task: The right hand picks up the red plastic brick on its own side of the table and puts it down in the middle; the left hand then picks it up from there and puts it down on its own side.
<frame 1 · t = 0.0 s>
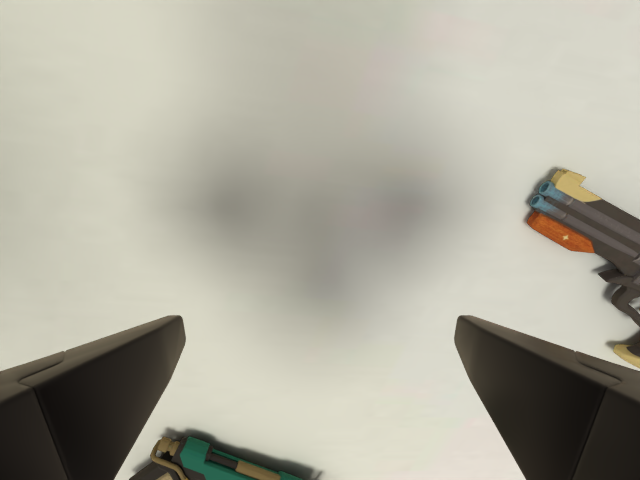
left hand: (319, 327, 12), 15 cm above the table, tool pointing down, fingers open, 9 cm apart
toy gun: (607, 276, 27), on the table
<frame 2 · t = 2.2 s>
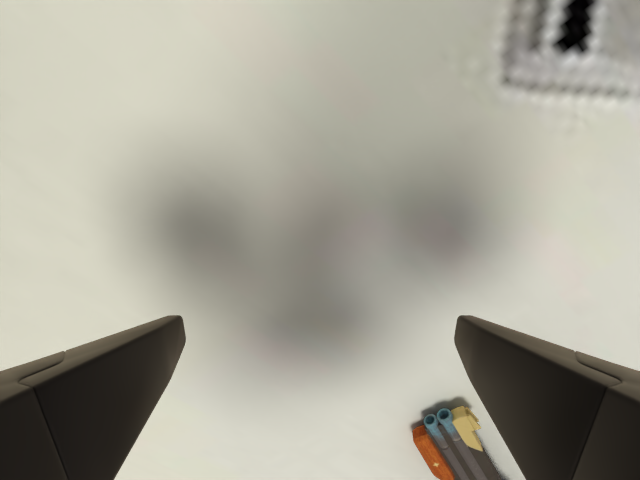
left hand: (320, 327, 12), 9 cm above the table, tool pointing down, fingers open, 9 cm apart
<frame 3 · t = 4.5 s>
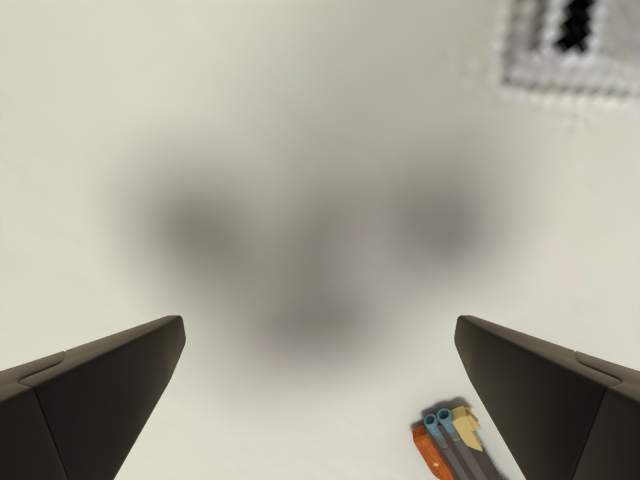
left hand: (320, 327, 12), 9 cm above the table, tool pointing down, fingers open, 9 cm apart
when the right hand's fingers open (2 cm above the table, at t = 6.6 s): brick stays where it is, on the table.
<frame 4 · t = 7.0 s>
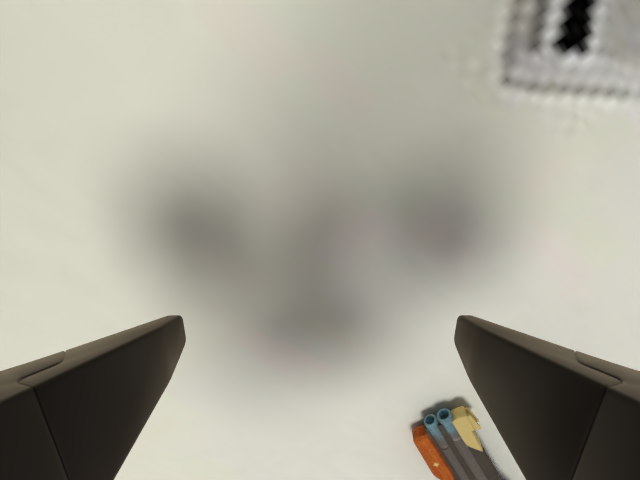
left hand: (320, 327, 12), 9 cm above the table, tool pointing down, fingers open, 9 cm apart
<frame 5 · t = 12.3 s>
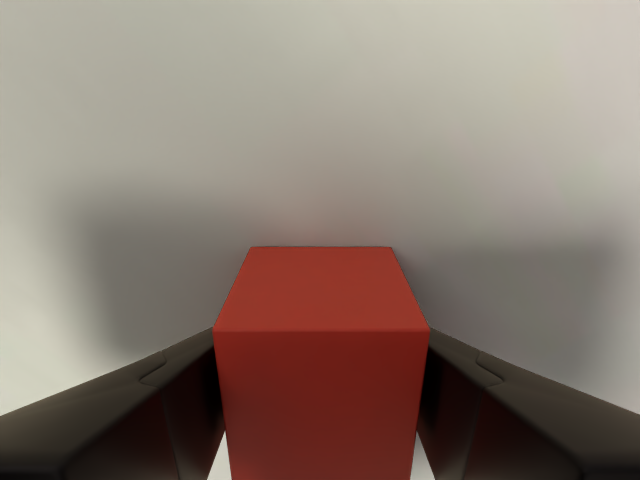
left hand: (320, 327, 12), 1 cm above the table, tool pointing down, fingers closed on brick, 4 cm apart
brick: (320, 311, 13), on the table, touching left hand
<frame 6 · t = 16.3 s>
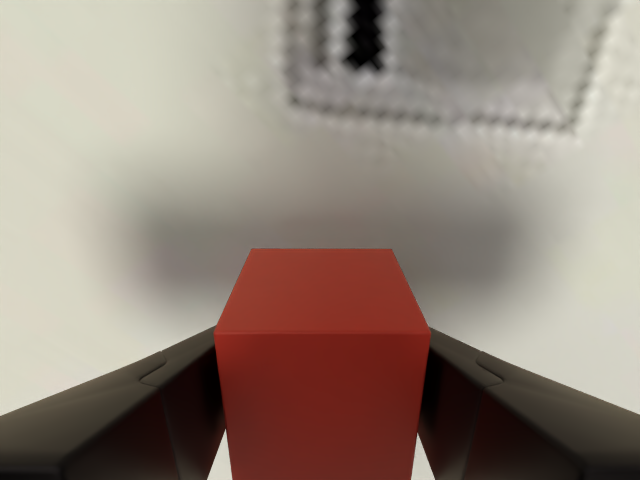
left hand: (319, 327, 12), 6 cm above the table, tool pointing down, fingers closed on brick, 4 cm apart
brick: (321, 313, 13), point 4 cm above the table, touching left hand
when the left hand's fingers open (2 cm above the table, at t = 20.3 s): brick stays where it is, on the table.
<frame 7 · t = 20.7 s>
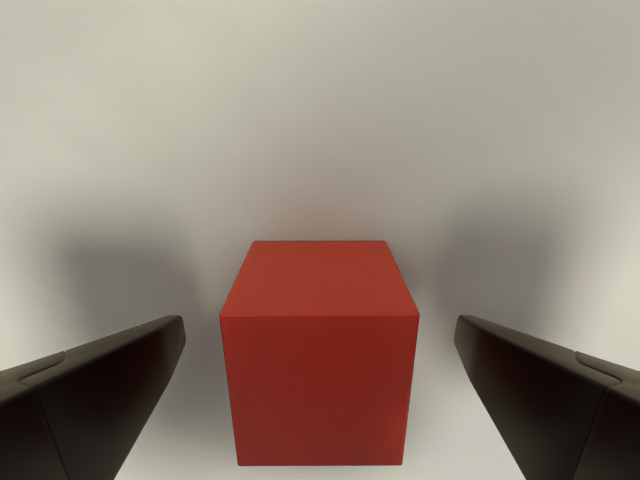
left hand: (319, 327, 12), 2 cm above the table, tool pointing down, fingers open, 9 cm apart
brick: (319, 303, 13), on the table
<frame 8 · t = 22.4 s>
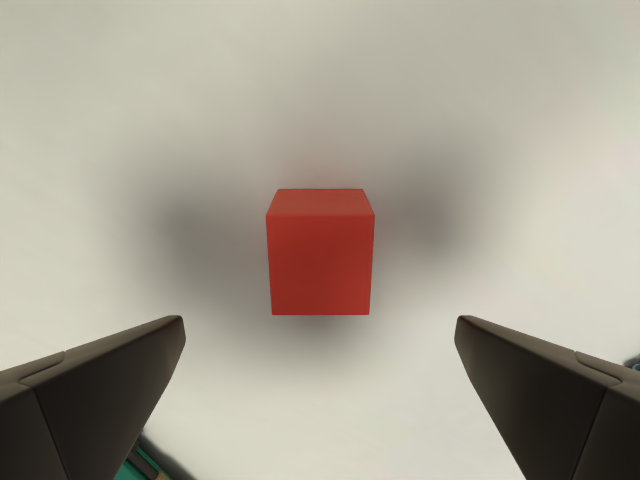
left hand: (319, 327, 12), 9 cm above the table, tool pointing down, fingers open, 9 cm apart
brick: (320, 232, 20), on the table
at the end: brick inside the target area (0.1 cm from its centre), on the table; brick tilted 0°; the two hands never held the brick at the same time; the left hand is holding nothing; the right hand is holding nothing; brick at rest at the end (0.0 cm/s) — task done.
